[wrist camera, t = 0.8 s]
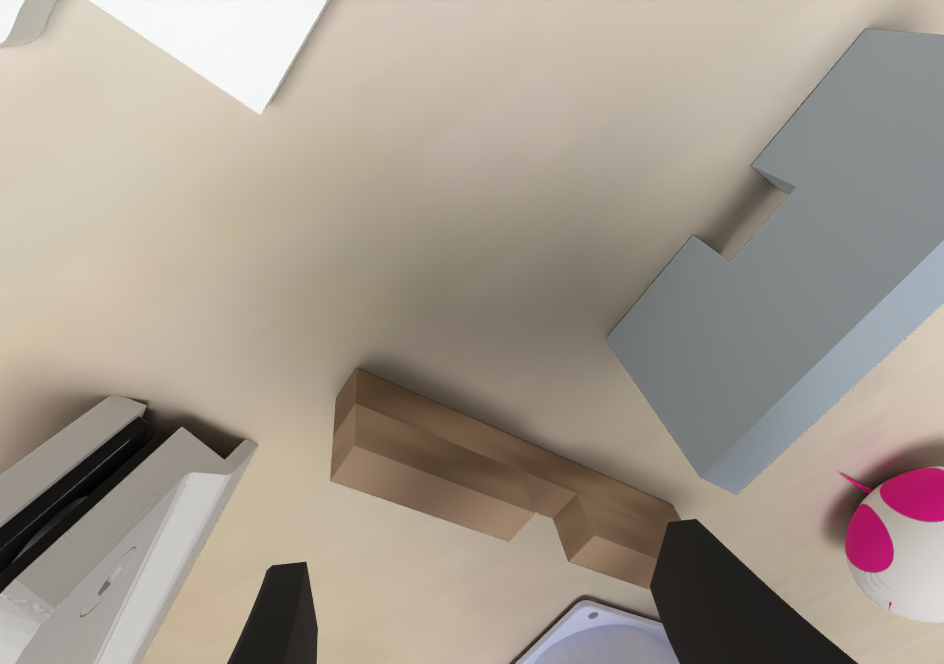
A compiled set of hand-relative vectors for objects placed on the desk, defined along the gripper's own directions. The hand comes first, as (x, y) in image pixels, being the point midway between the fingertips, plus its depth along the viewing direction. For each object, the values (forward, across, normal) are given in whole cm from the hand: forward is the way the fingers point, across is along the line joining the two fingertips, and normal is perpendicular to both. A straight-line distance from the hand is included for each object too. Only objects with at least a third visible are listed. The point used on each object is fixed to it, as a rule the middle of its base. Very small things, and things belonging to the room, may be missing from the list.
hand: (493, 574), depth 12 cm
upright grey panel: (+10, -10, -4) cm, 14 cm away
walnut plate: (+10, -4, +6) cm, 12 cm away
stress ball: (+10, -22, +11) cm, 26 cm away
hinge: (+10, +14, +9) cm, 20 cm away
